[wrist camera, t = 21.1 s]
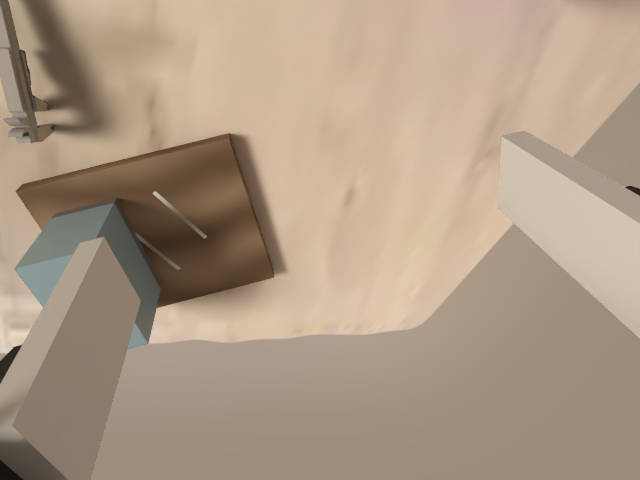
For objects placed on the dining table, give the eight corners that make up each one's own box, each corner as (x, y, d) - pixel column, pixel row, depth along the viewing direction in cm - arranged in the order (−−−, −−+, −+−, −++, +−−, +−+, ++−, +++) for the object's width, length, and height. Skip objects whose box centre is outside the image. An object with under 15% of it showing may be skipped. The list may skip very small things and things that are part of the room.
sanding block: (54, 213, 41) (13, 269, 33) (116, 198, 41) (89, 249, 33) (108, 297, 47) (84, 360, 39) (162, 283, 47) (148, 344, 39)
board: (22, 184, 40) (15, 191, 39) (228, 133, 41) (228, 138, 40) (106, 312, 50) (103, 321, 48) (273, 269, 50) (274, 277, 49)
